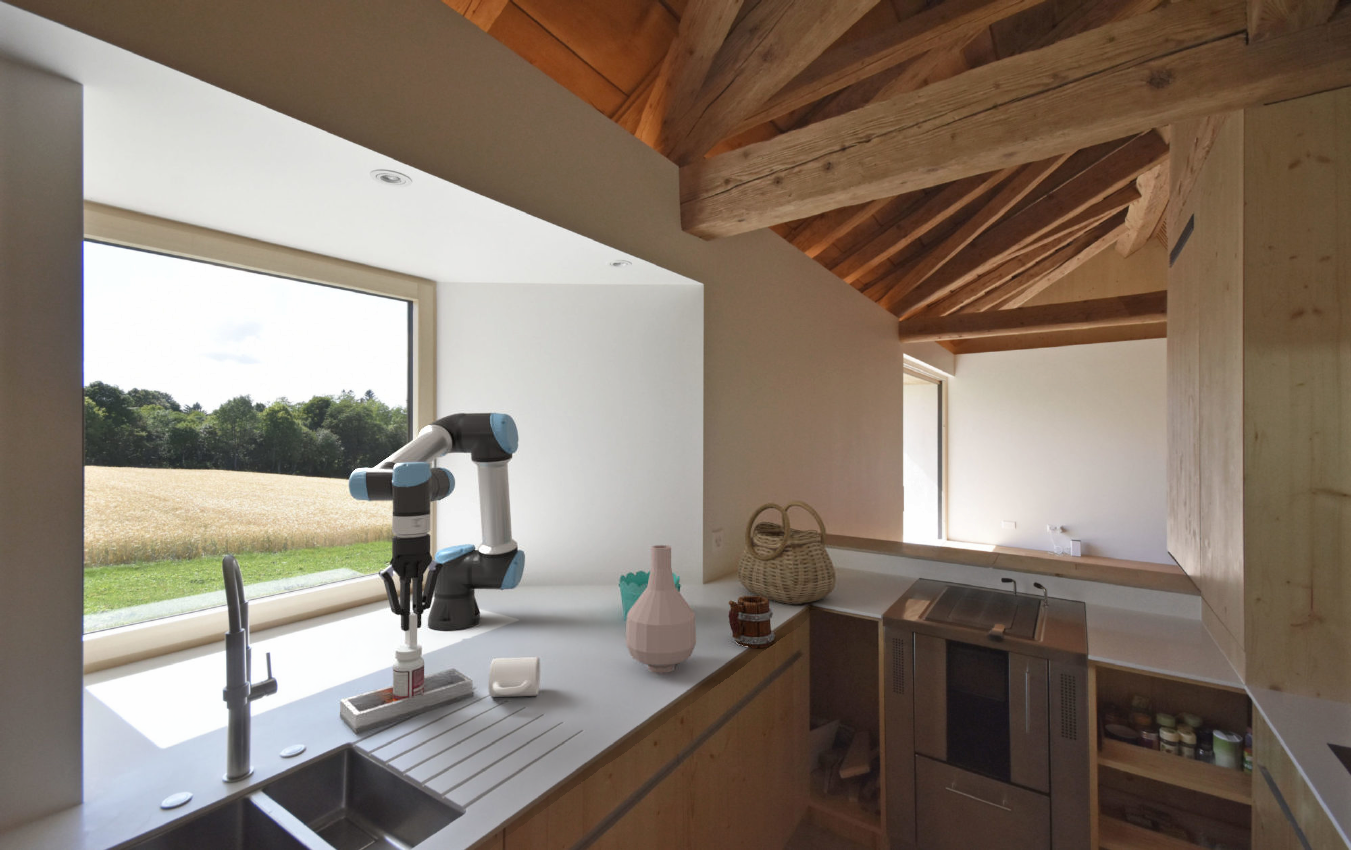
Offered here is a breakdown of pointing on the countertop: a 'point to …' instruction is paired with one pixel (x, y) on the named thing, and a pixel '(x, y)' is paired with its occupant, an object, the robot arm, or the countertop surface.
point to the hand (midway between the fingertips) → (411, 644)
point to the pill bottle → (408, 672)
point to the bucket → (636, 588)
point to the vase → (661, 619)
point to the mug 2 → (751, 621)
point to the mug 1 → (514, 677)
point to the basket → (786, 559)
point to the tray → (404, 701)
